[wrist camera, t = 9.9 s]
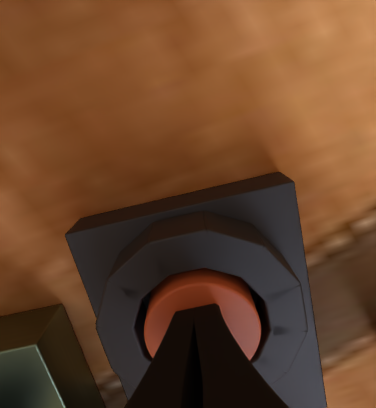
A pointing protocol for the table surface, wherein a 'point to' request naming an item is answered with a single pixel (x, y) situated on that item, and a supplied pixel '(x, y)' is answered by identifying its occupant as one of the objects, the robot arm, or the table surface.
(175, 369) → the robot arm
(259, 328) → the button
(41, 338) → the dial panel
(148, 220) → the base
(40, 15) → the table surface
